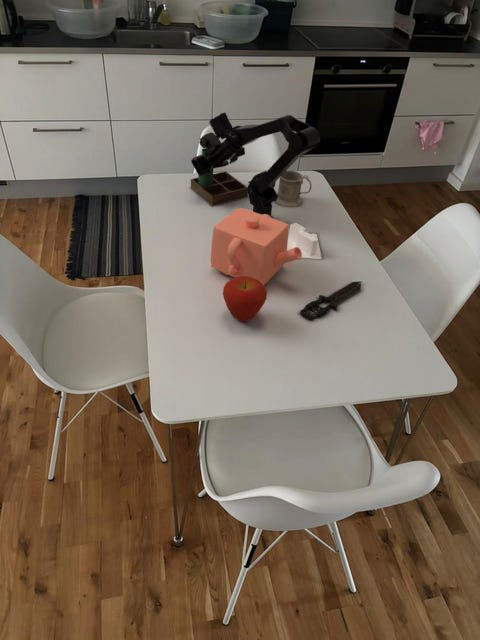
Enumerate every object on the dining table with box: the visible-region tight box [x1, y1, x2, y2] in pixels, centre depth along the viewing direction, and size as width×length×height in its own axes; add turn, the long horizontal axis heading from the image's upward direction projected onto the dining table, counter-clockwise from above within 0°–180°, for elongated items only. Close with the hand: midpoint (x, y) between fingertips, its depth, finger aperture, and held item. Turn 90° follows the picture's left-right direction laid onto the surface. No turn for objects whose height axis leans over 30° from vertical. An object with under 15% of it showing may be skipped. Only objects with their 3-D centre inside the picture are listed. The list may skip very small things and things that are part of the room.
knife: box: [299, 281, 362, 321], centre depth 142 cm, size 25×6×1 cm, turn 127°
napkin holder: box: [287, 222, 323, 260], centre depth 162 cm, size 15×11×6 cm
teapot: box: [210, 207, 302, 286], centre depth 144 cm, size 25×23×18 cm
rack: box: [190, 170, 249, 207], centre depth 186 cm, size 15×15×4 cm
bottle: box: [197, 148, 214, 187], centre depth 182 cm, size 5×5×14 cm
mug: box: [275, 170, 312, 208], centre depth 181 cm, size 14×10×12 cm
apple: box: [222, 276, 268, 322], centre depth 131 cm, size 11×11×12 cm
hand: (203, 170), depth 183 cm, fingers closed on bottle, 5 cm apart
